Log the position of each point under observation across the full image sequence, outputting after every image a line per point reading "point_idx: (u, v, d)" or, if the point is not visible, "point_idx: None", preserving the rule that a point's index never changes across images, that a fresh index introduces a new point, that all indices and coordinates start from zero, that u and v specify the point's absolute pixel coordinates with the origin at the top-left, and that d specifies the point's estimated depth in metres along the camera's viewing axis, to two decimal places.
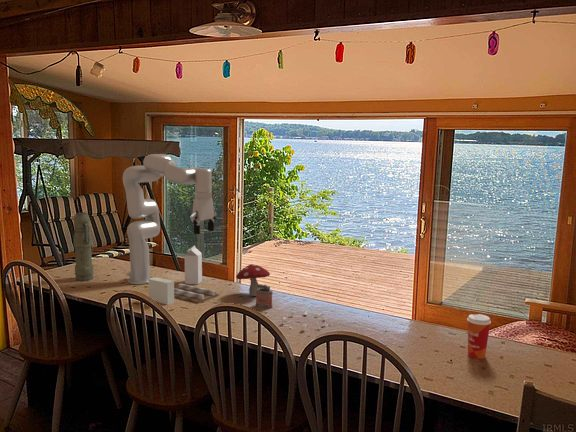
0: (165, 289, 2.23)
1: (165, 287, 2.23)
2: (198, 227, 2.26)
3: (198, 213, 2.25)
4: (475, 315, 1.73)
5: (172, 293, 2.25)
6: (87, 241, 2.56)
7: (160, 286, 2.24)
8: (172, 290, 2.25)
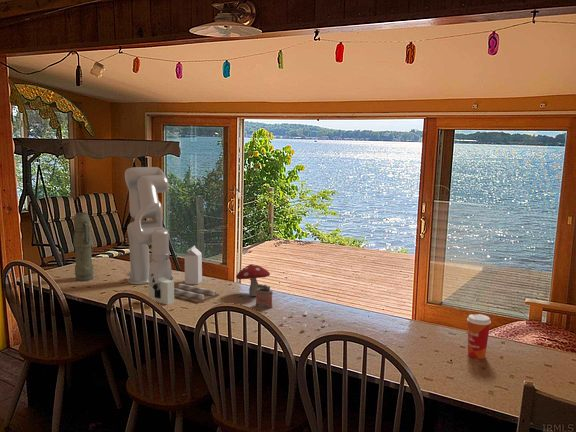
0: (165, 289, 2.23)
1: (165, 287, 2.23)
2: (158, 291, 2.24)
3: (154, 276, 2.21)
4: (475, 315, 1.73)
5: (172, 293, 2.25)
6: (87, 241, 2.56)
7: (160, 286, 2.24)
8: (172, 290, 2.25)
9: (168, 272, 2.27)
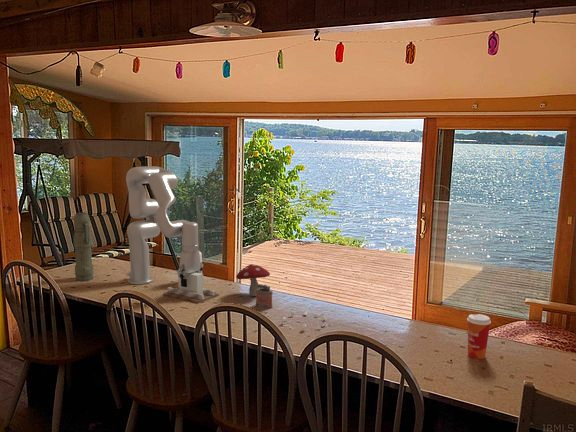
0: (195, 281, 2.32)
1: (195, 279, 2.32)
2: (185, 280, 2.31)
3: (184, 266, 2.30)
4: (475, 315, 1.73)
5: (201, 285, 2.34)
6: (87, 241, 2.56)
7: (190, 278, 2.33)
8: (201, 282, 2.34)
9: (197, 263, 2.36)
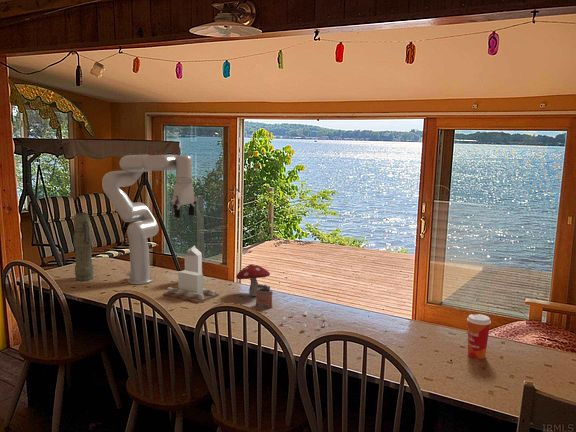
0: (195, 281, 2.32)
1: (195, 279, 2.32)
2: (178, 211, 2.38)
3: (178, 197, 2.37)
4: (475, 315, 1.73)
5: (201, 285, 2.34)
6: (87, 241, 2.56)
7: (190, 278, 2.33)
8: (201, 282, 2.34)
9: (191, 195, 2.42)
